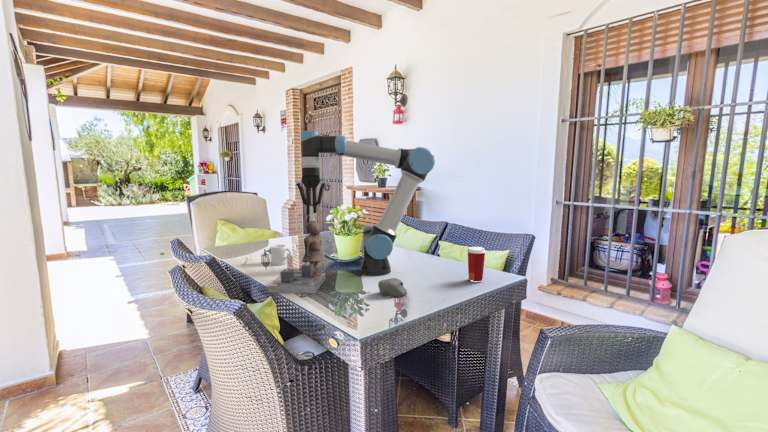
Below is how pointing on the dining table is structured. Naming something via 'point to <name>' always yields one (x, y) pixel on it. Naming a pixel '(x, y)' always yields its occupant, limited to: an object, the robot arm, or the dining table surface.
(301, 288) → the switch unit
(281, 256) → the mug
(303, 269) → the block
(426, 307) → the dining table surface
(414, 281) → the dining table surface
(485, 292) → the dining table surface
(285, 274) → the slider near
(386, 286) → the stone
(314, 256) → the clay figurine
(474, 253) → the beer glass
